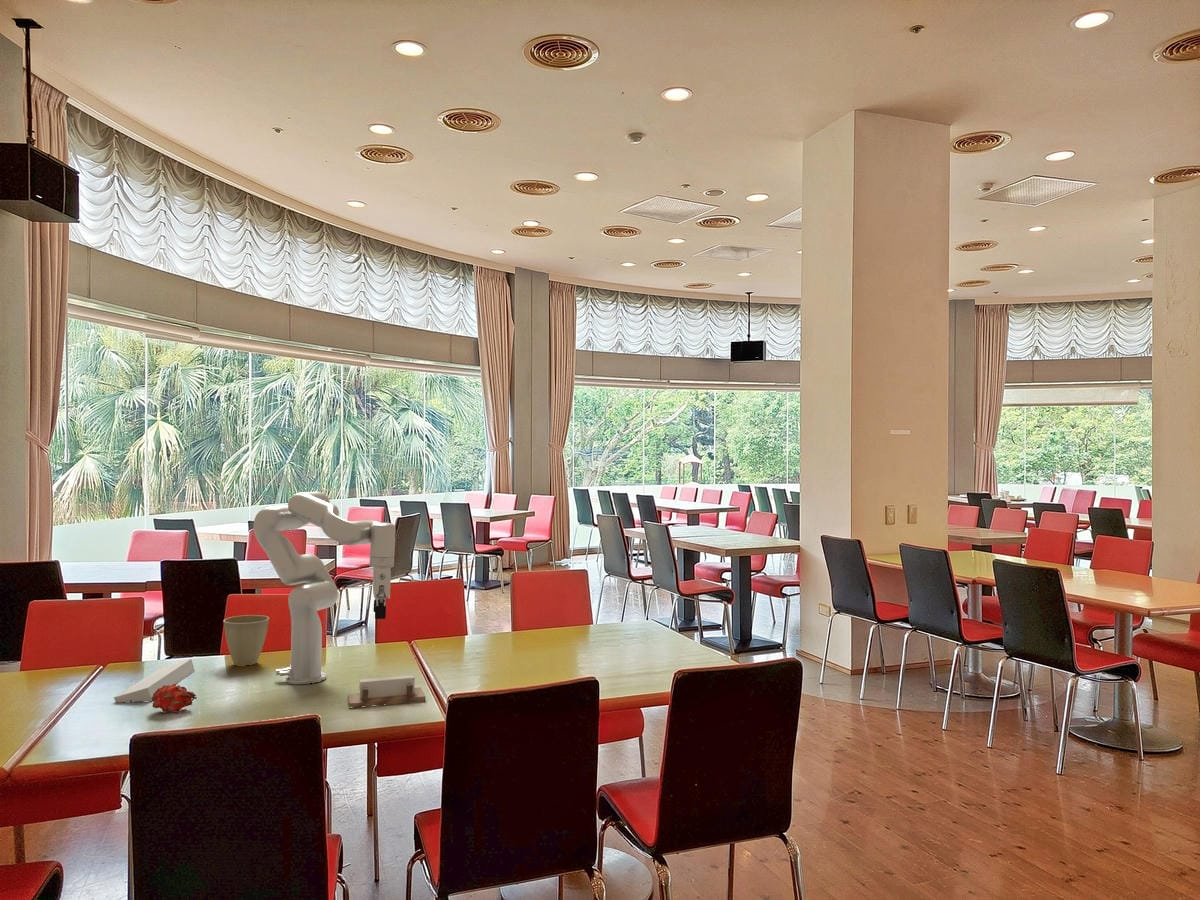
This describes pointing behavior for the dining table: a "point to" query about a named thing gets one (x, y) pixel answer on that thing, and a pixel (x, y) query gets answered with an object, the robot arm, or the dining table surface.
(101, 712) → the dining table surface
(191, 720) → the dining table surface
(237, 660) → the plant pot
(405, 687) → the clay strip
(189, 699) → the dragon fruit
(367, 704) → the plank with four pegs
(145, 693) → the white wedge ramp
